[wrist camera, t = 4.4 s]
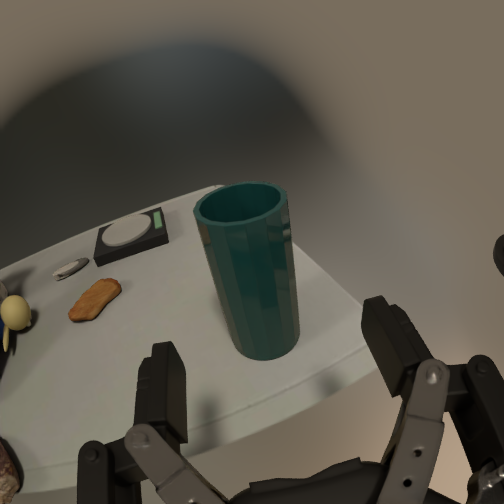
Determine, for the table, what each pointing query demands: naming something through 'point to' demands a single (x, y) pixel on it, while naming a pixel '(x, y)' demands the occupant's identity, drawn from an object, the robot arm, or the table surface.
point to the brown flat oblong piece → (94, 299)
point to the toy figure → (13, 317)
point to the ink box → (2, 293)
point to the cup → (252, 265)
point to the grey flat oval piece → (70, 268)
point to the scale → (130, 236)
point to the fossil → (7, 477)
